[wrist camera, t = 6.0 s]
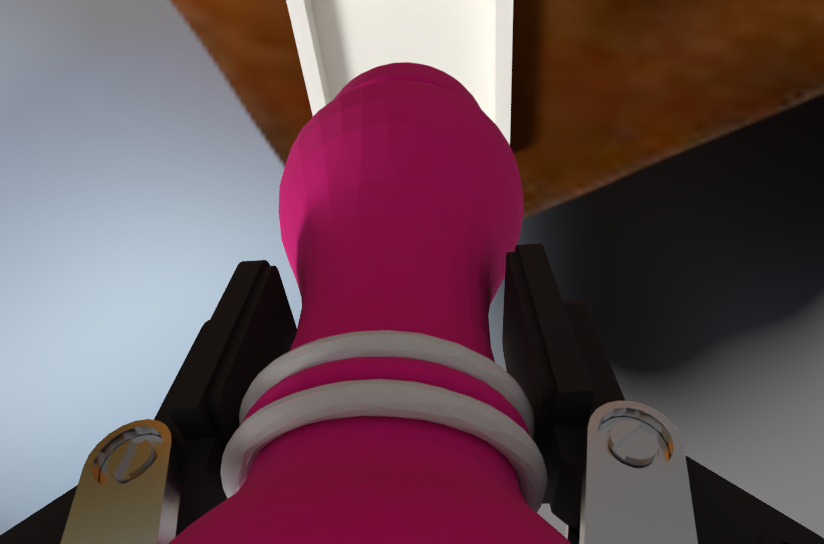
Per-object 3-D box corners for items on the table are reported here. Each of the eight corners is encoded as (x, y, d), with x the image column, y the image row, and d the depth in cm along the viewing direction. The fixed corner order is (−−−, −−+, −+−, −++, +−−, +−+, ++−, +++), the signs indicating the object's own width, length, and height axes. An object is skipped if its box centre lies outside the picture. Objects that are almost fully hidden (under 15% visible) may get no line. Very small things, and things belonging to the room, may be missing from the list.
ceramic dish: (507, -51, 28) (514, -47, 26) (504, 157, 36) (509, 171, 34) (291, -25, 29) (281, -20, 27) (334, 171, 37) (329, 187, 35)
